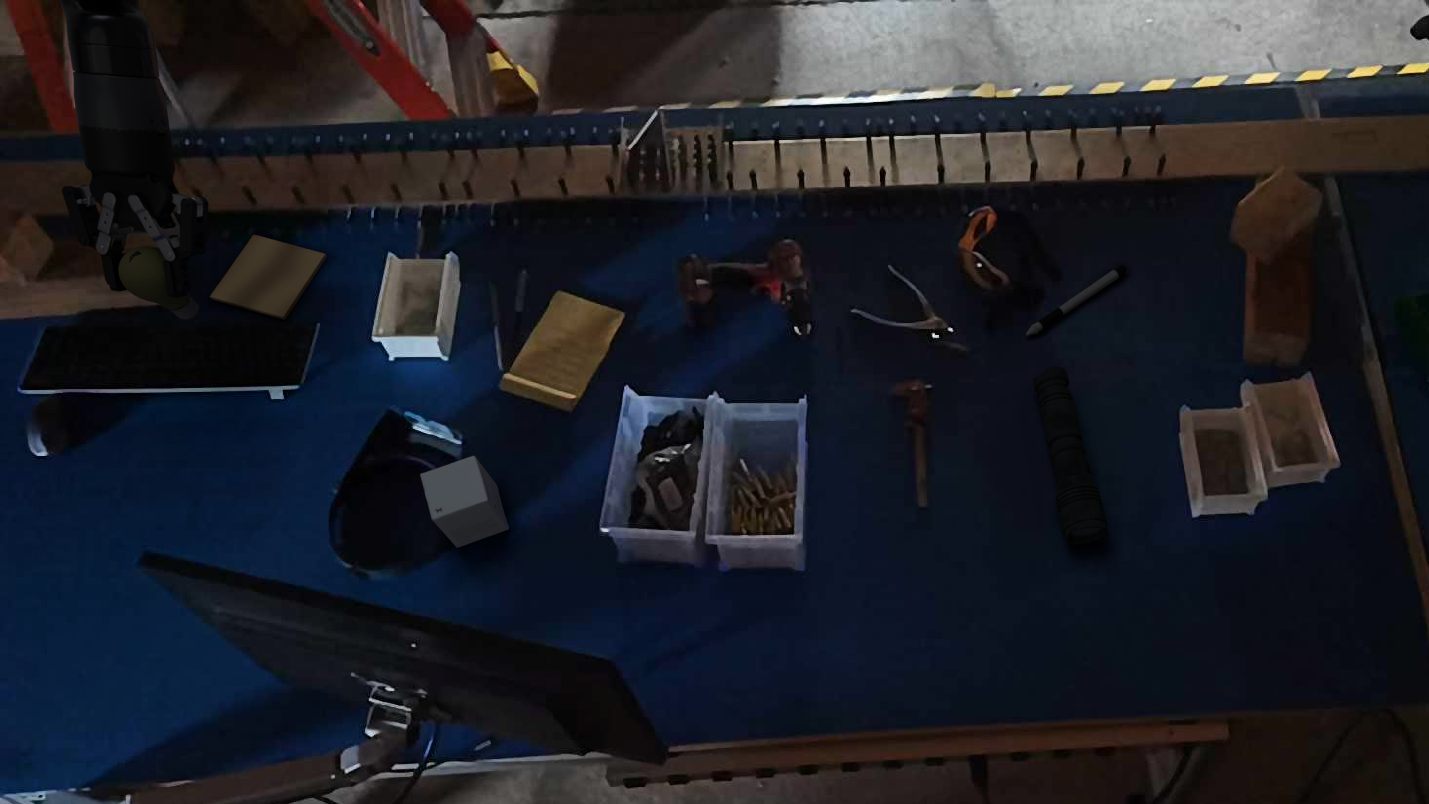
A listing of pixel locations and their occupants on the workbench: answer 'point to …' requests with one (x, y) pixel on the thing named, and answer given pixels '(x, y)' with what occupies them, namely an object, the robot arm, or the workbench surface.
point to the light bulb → (152, 281)
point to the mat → (268, 277)
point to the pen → (1076, 300)
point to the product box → (464, 501)
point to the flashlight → (1069, 461)
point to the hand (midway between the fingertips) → (150, 292)
